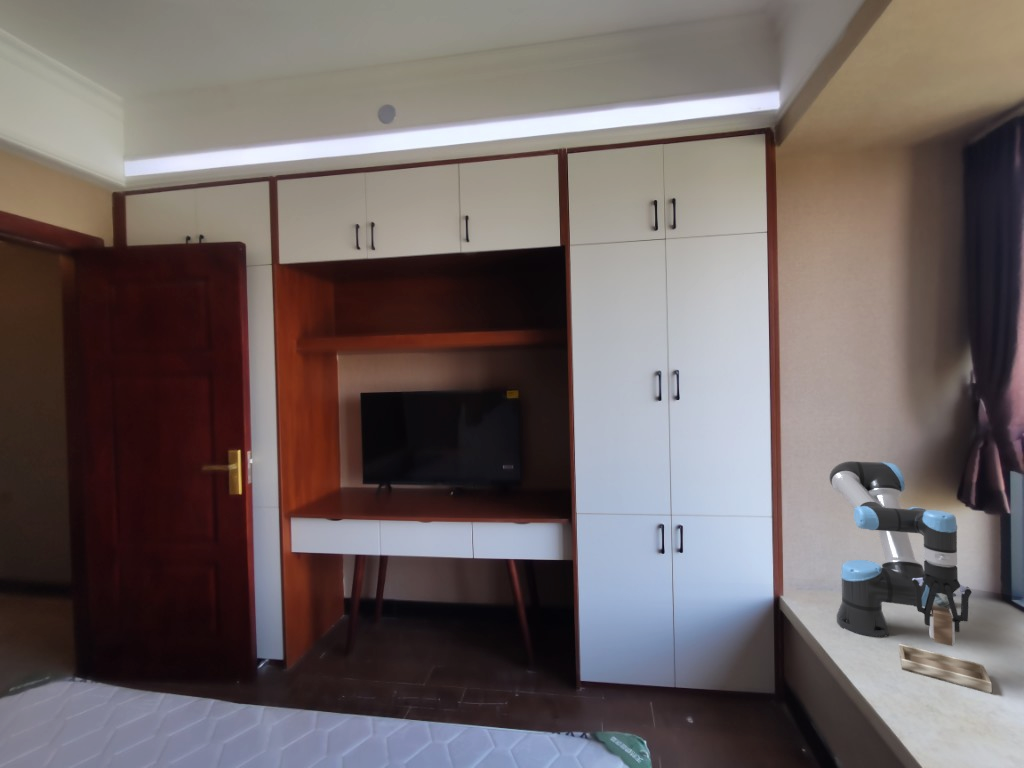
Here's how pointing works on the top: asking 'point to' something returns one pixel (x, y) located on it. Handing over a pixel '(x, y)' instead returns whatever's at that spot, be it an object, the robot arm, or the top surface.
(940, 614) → the tan wooden block
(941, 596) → the seashell
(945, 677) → the open wooden box
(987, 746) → the top surface
